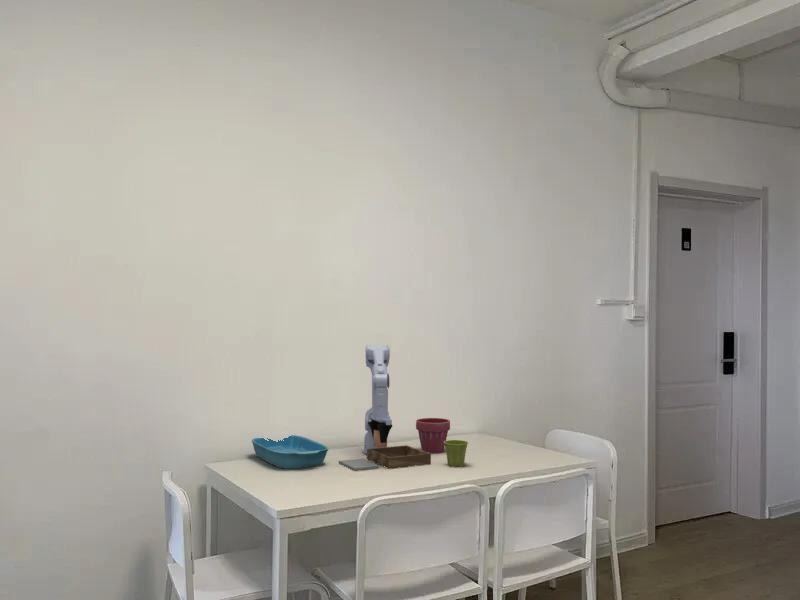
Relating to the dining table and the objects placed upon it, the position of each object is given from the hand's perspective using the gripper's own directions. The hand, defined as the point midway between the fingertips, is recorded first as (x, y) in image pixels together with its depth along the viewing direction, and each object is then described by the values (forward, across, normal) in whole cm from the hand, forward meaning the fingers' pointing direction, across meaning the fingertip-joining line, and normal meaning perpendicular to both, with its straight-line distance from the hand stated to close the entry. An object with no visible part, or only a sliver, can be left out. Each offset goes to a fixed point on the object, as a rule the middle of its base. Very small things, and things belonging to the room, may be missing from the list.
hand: (379, 441), depth 275 cm
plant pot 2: (+9, -14, -25) cm, 30 cm away
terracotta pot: (+2, 0, 0) cm, 2 cm away
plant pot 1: (+9, +12, -32) cm, 35 cm away
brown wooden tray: (+8, 0, -8) cm, 12 cm away
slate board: (+8, 0, +9) cm, 12 cm away
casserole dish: (+9, +21, +28) cm, 36 cm away
